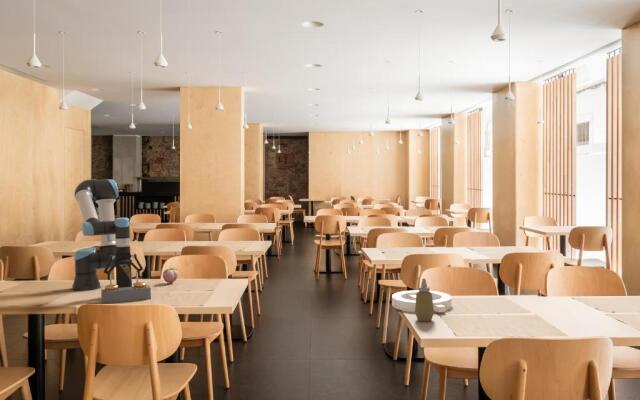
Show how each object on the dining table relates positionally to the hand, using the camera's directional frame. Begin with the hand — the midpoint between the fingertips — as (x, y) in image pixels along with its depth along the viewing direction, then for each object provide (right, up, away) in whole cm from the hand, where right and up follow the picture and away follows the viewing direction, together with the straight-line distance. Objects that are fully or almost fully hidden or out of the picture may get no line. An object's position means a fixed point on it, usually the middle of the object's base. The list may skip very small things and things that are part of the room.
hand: (124, 284), depth 297 cm
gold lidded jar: (+12, -5, -10) cm, 16 cm away
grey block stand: (+6, -6, -13) cm, 15 cm away
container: (0, -6, 0) cm, 6 cm away
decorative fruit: (+17, -5, +31) cm, 36 cm away
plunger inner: (-1, -5, -16) cm, 16 cm away
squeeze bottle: (+152, -5, -65) cm, 166 cm away
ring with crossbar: (+156, -5, -37) cm, 161 cm away
